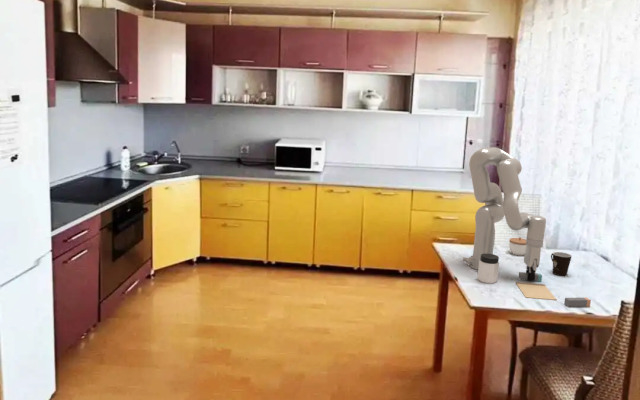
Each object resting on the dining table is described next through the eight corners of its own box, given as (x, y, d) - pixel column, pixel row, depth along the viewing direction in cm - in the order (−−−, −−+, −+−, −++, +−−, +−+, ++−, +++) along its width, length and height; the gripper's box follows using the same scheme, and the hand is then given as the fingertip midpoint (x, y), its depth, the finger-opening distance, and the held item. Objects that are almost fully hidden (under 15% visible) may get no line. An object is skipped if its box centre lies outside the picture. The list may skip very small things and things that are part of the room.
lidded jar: (504, 250, 320) (506, 234, 318) (522, 251, 321) (524, 235, 320) (513, 256, 310) (515, 239, 308) (531, 257, 311) (533, 240, 309)
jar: (476, 281, 266) (479, 257, 263) (477, 276, 273) (480, 252, 271) (496, 284, 263) (499, 259, 261) (497, 279, 271) (499, 254, 268)
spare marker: (568, 307, 239) (569, 300, 239) (564, 304, 242) (565, 297, 242) (589, 306, 241) (590, 300, 241) (585, 304, 244) (586, 297, 243)
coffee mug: (570, 277, 279) (573, 257, 277) (552, 275, 280) (554, 256, 278) (565, 270, 290) (568, 251, 288) (547, 268, 292) (550, 249, 290)
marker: (519, 280, 271) (520, 274, 270) (518, 278, 274) (518, 272, 273) (541, 281, 270) (542, 275, 270) (539, 279, 273) (540, 273, 272)
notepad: (525, 297, 248) (526, 296, 248) (515, 283, 266) (515, 282, 266) (556, 300, 247) (556, 299, 247) (544, 285, 265) (544, 284, 265)
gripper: (522, 237, 277) (517, 273, 280) (530, 246, 261) (525, 284, 264) (538, 238, 276) (533, 274, 280) (547, 247, 260) (542, 285, 264)
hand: (529, 279), depth 272 cm, fingers closed on marker, 3 cm apart
